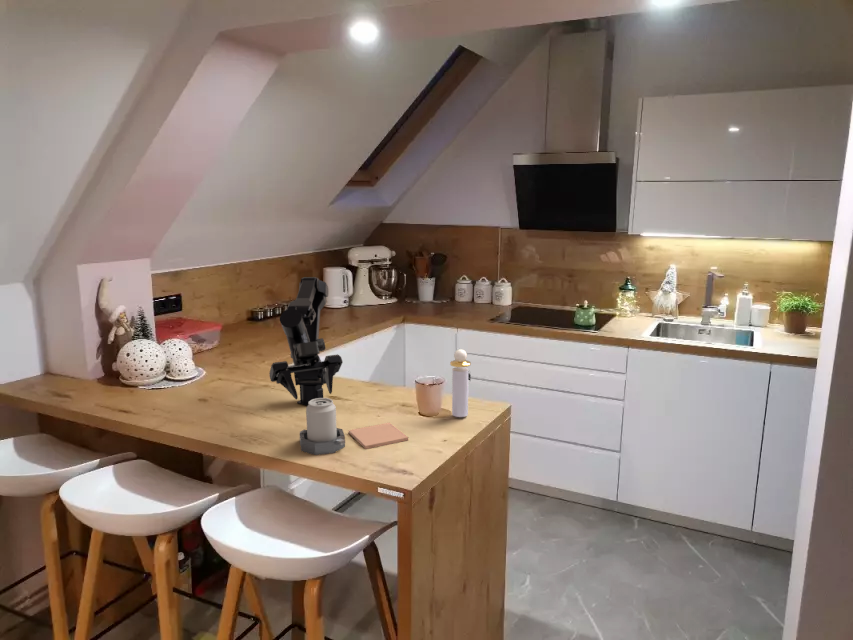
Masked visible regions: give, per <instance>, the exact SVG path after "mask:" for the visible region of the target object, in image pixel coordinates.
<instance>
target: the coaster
mask: <svg viewBox="0 0 853 640" xmlns="http://www.w3.org/2000/svg"><path fill="white" fill-rule="evenodd" d="M348 434H349V435H350V436H352V438H353V439H354V440H356V442H358V444H360V445H361V446H362V448H364V449H365V450H369V449H372V448H373V449H374V448H377V447H381V446H387V445H392V444H397V443H401V442H406V441H409V436H407V435H406V434H404V432H403V431H401V430H400V429H399V428H397V427H396V426H394V425H393V424H392V423H391V422H384V423H380V424H379V423H378V424H373V425H369V426H363V427H358V428H354V429H349V430H348Z"/></svg>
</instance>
